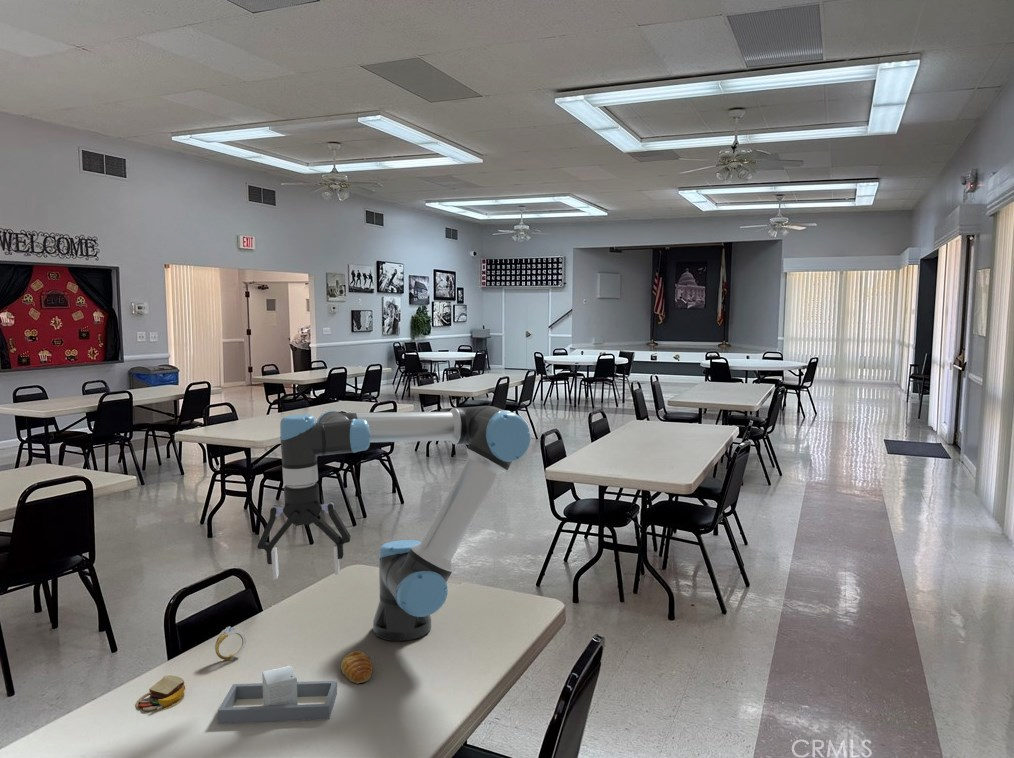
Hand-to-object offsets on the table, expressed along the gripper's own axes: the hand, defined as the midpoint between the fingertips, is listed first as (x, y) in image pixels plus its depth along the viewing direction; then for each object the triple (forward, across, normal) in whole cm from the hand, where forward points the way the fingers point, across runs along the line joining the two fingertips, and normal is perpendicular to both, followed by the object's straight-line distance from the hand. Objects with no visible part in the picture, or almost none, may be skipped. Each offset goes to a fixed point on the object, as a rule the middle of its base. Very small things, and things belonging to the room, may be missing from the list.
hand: (306, 574), depth 159 cm
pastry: (+25, -9, +5) cm, 27 cm away
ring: (+23, +20, -9) cm, 32 cm away
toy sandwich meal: (+23, +30, +8) cm, 39 cm away
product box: (+23, +5, +15) cm, 28 cm away
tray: (+23, +5, +15) cm, 28 cm away
